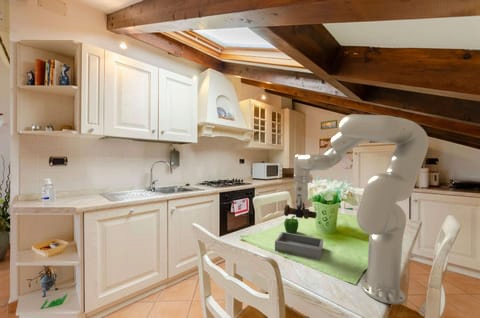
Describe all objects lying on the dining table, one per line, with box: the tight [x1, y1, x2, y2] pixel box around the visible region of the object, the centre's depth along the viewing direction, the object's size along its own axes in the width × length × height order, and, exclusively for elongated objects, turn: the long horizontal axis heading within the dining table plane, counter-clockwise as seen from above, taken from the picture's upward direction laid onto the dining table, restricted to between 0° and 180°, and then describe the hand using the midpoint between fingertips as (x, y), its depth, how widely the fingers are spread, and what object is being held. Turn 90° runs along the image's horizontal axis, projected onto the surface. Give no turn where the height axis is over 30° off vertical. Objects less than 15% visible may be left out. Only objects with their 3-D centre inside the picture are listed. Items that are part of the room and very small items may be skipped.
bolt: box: [283, 204, 318, 220], centre depth 108 cm, size 6×5×15 cm
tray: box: [274, 231, 324, 261], centre depth 109 cm, size 14×21×4 cm, turn 65°
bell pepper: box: [283, 215, 299, 234], centre depth 131 cm, size 8×8×10 cm
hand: (300, 215), depth 108 cm, fingers closed on bolt, 5 cm apart
